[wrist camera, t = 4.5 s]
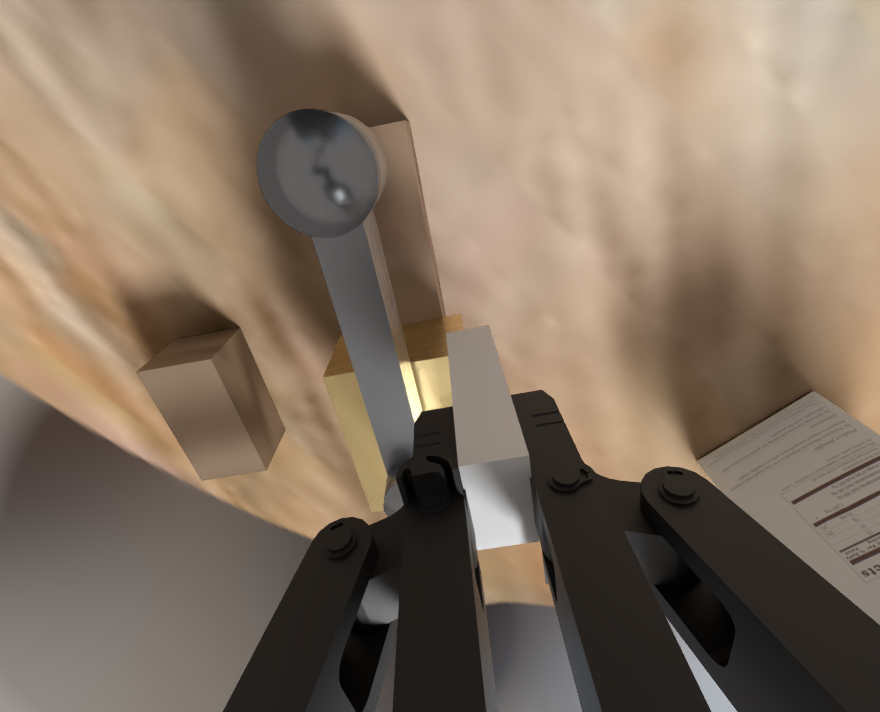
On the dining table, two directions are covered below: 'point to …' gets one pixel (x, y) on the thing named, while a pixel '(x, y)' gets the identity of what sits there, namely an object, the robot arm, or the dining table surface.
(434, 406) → the gold metallic block
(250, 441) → the block
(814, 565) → the supplement box
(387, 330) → the lever
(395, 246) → the body
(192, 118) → the dining table surface
